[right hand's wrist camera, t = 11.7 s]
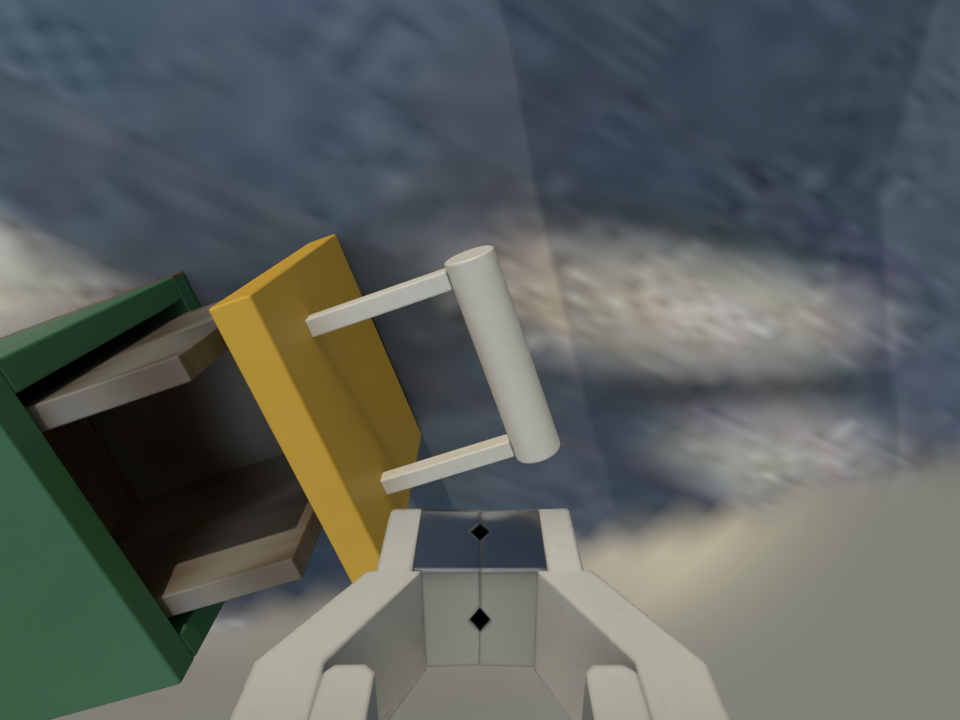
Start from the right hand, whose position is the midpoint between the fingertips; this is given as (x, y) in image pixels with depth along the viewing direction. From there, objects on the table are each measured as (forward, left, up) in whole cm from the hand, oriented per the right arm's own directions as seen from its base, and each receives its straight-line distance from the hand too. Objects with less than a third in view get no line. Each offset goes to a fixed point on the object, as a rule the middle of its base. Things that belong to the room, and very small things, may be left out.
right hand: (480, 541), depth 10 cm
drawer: (+8, +1, -16) cm, 18 cm away
